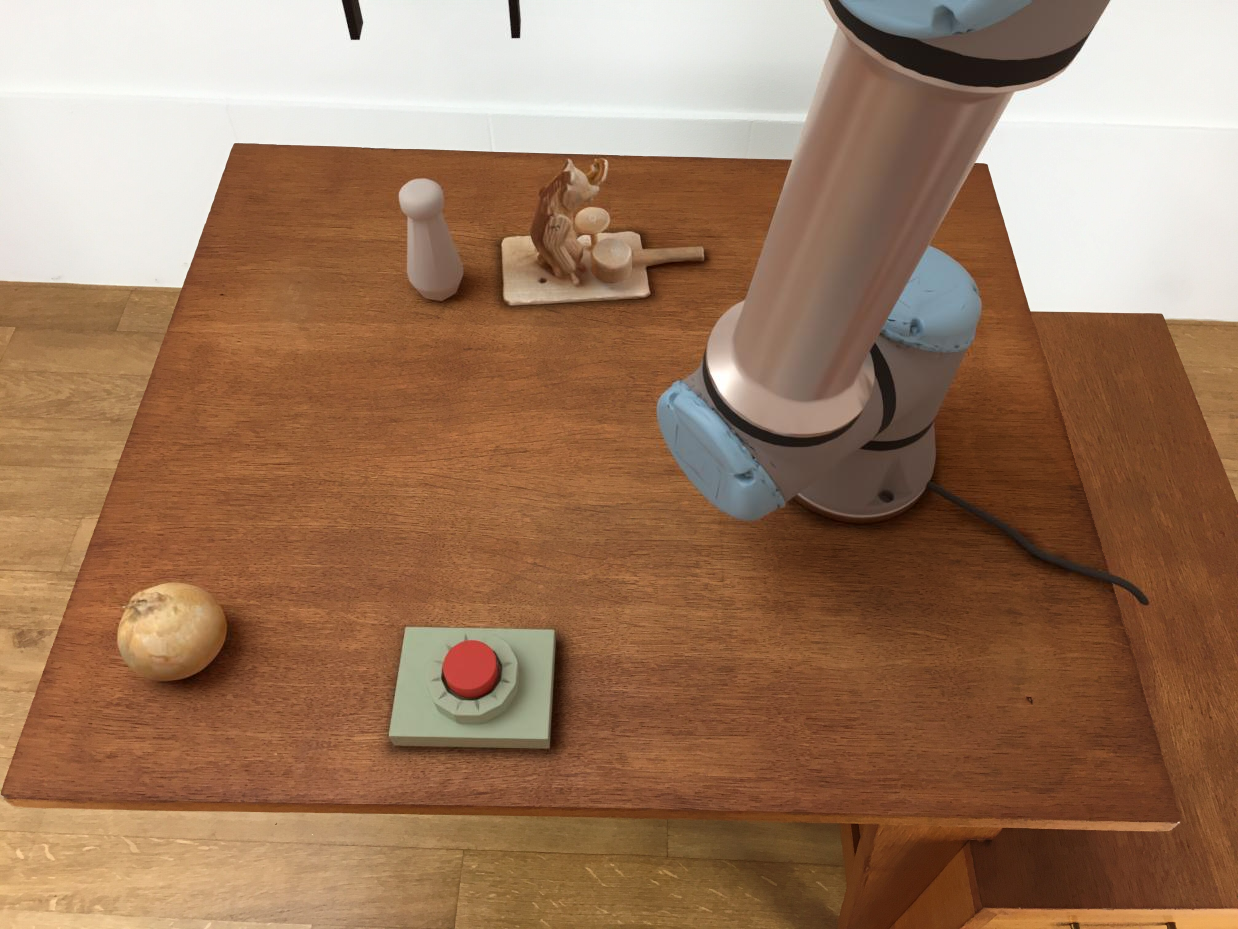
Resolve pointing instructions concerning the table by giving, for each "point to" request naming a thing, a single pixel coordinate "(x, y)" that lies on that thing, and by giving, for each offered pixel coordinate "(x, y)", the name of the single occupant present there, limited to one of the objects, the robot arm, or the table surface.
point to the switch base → (490, 720)
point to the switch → (470, 669)
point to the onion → (171, 631)
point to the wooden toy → (578, 248)
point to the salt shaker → (429, 241)
